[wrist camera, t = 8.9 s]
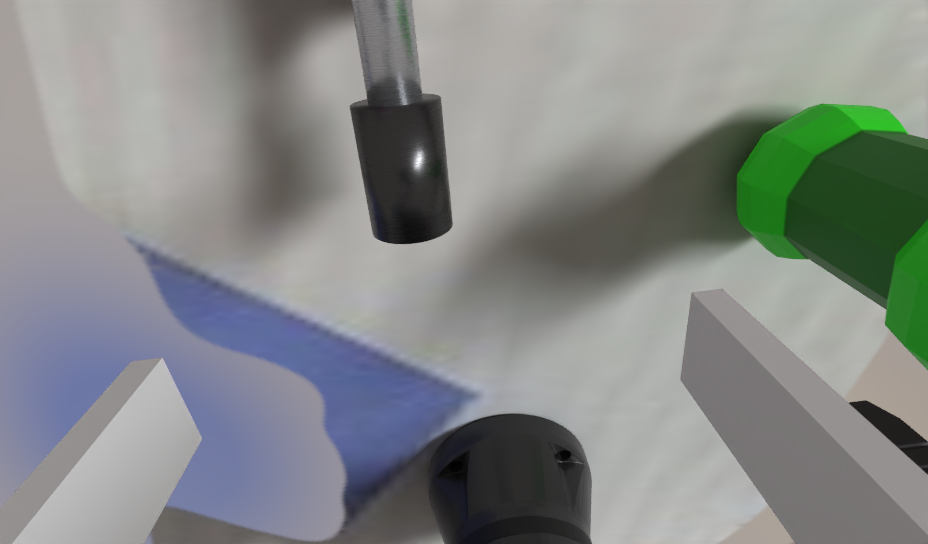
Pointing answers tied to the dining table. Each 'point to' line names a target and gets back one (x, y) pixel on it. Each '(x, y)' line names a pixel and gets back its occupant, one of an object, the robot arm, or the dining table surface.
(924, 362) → the plastic bottle
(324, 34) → the dining table surface
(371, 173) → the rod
